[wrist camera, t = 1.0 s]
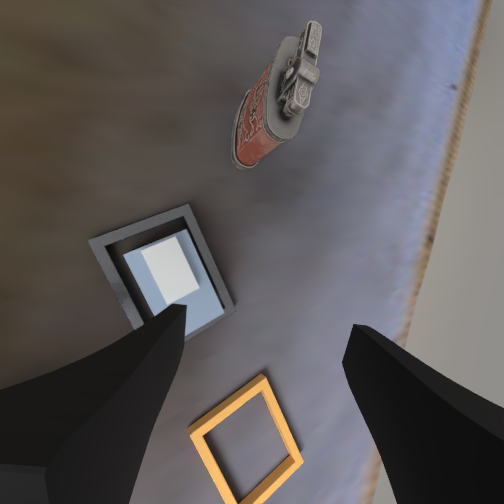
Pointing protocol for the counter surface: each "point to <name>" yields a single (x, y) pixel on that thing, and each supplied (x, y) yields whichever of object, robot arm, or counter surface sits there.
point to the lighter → (277, 99)
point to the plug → (175, 279)
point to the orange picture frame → (224, 409)
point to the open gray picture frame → (147, 224)
